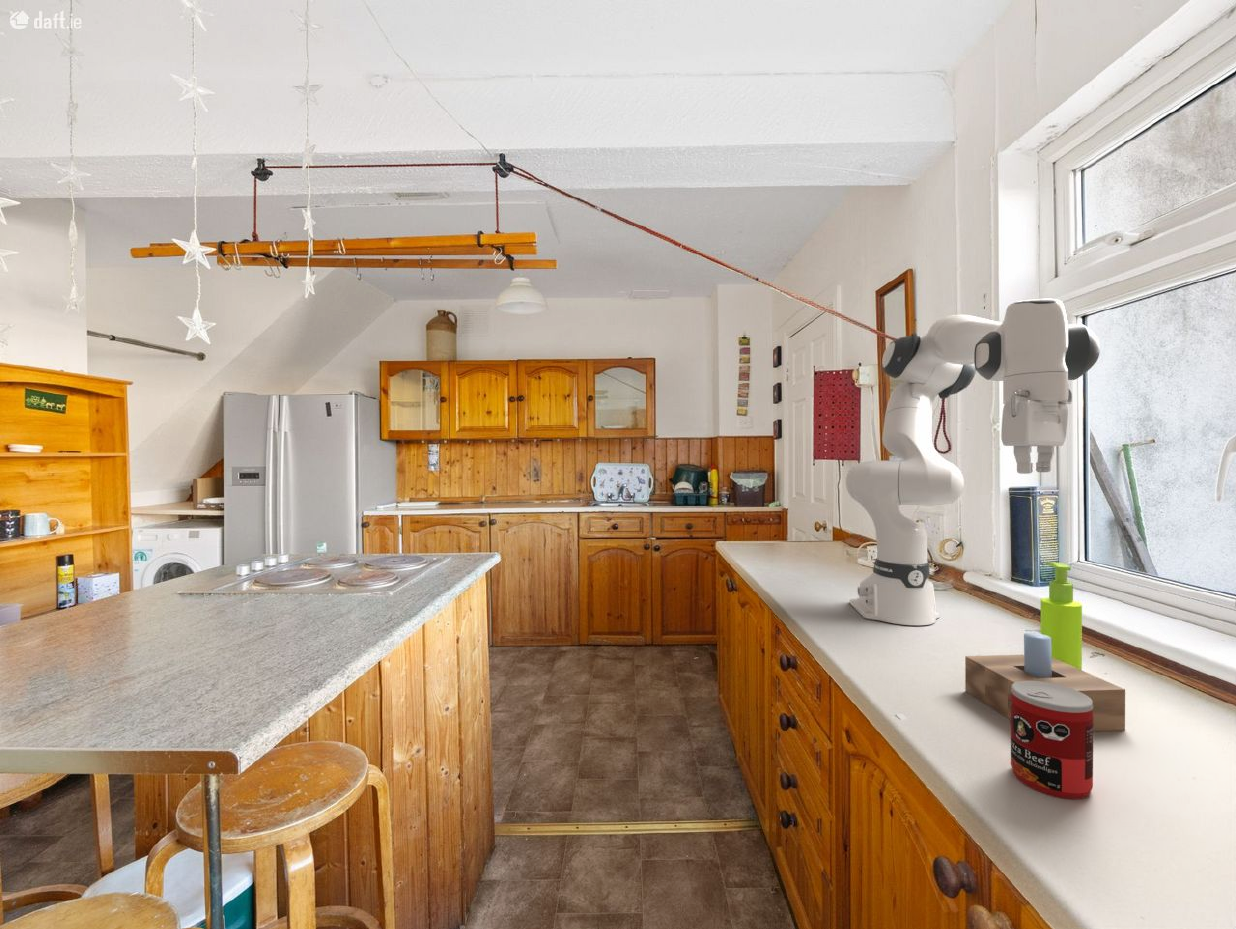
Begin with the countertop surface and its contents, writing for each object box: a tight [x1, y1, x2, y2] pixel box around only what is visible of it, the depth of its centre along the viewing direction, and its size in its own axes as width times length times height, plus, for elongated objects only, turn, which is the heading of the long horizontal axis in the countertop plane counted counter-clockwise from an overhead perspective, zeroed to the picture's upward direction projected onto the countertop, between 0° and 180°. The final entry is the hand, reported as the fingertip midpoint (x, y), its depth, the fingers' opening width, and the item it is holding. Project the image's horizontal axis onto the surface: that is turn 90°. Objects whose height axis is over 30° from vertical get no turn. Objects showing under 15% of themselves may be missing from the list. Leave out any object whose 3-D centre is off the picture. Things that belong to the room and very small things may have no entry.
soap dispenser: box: [1040, 561, 1083, 671], centre depth 99 cm, size 6×7×20 cm
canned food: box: [1010, 681, 1094, 800], centre depth 66 cm, size 8×8×11 cm
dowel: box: [1023, 632, 1052, 678], centre depth 85 cm, size 3×3×11 cm
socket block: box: [964, 654, 1126, 732], centre depth 85 cm, size 14×14×6 cm
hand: (1034, 473), depth 92 cm, fingers open, 8 cm apart
